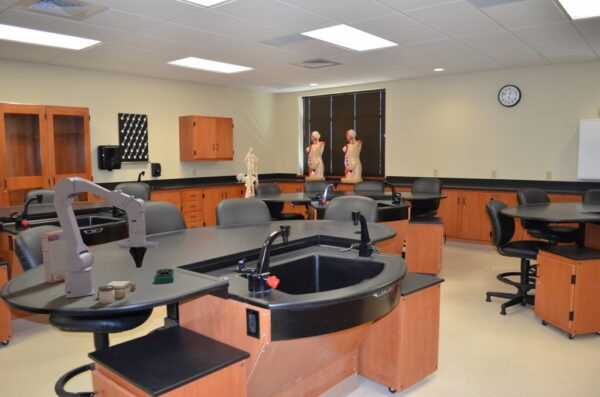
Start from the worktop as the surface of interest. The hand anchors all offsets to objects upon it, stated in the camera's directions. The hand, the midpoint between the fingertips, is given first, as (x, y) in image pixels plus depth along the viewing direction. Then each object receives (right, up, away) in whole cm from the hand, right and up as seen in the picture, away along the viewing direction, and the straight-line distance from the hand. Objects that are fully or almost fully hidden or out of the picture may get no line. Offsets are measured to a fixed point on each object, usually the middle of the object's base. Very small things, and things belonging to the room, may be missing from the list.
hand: (139, 267), depth 174 cm
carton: (-8, -10, +1) cm, 13 cm away
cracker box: (-40, -9, +24) cm, 47 cm away
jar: (-8, -11, -8) cm, 16 cm away
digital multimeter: (+3, -9, +21) cm, 23 cm away
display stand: (-8, -10, +1) cm, 13 cm away
